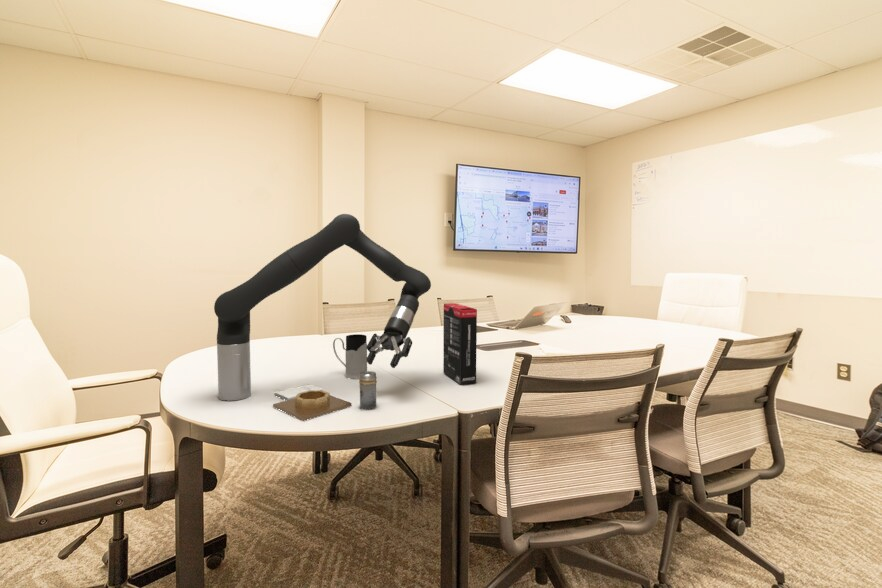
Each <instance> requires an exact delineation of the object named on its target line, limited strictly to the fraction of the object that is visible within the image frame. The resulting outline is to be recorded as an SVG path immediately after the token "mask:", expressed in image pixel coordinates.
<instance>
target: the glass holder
mask: <svg viewBox="0 0 882 588" xmlns="http://www.w3.org/2000/svg"><path fill="white" fill-rule="evenodd" d="M337 340H339V341H341V343H342V344H341V345H342V349H343V350H344V351H345V363H344V361H342V360H341V358H340V356H339V355H338V354H337V350H336V347H335V346H336V344H335V342H336V341H337ZM367 345H368V343H367V335H365V334H362V333H361V334H357V333H356V334H348V335H345V342H344V340H343V339H342V338H341V337H336V338H335V339H334V340H333V342H332V348H333V352H334V354H335V357H336V358H337V359H338V361H339V362H340V363H341V364H342V365H343V366H344V367H345V374H344V376H345V377H346V378H345V377H344V378H345V379H348V378H350V379H351V380H359V377H360V373H362V372H368V362H367V357H368V349H367V348H366V347H367Z"/></svg>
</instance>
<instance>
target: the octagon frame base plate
mask: <svg viewBox="0 0 882 588" xmlns="http://www.w3.org/2000/svg"><path fill="white" fill-rule="evenodd" d="M330 394H331V393H330V392H327V391H325V390H309V391H305V392H301V393H298V394H297V395H296V397H295V398H294V399H290V400H287V401H286V400H283V401H279V402H275V403H272V408H273V407H275V408H274V409H276V408H277V409H276V410H278V409H280V410H282V411H284V412H286V413H285V414H287V413H288V414H287V415H289V414H290V415H289V416H291V415H292V417H293V416H295V417H296V418H295V417H294V418H295V419H298V420H299V421H302V420H303V421H302V422H305V421H304V420H306V421H308V420H307V419H309V420H311V419H310V418H312V419H315V418H318V417H317V416H319V417H321V416H320V415H322V416H324V415H323V414H325V415H327V413H328V414H331V413H334V412H333V411H335V412H337V410H338V411H340V409H341V410H344V409H347V407H348V408H350V406H351V407H352V405H353V404H352V402H350V401H347V400H345V399H342V398H339V397H336V396H333V395H332V394H331V395H330ZM280 410H279V411H280ZM282 411H281V412H282ZM284 412H283V413H284ZM330 412H331V413H330ZM314 417H315V418H314Z"/></svg>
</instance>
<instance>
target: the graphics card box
mask: <svg viewBox="0 0 882 588" xmlns="http://www.w3.org/2000/svg"><path fill="white" fill-rule="evenodd" d="M477 319H478V310H477V308H474V307H470V306H466V305H463V304H460V303H453V302H451V303H450V302H448V303H443V363H442V365H443V374H445V375H446V376H447V377H449V378H450V379H452V380H453V381H454V382H456V383H457V384H459V385H460V386H465V385H471V384H476V383H477V341H478V340H477V336H478V334H477V333H478V332H477V331H478V329H477V328H478V326H477V325H478V323H477V322H478V320H477Z"/></svg>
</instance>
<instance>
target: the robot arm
mask: <svg viewBox="0 0 882 588" xmlns="http://www.w3.org/2000/svg"><path fill="white" fill-rule="evenodd" d="M343 246H347V247H348V248H350V249H352V250H354V251H355V252H357V253H358V254H360V255H361V256H362V257H363V258H365V259H366V260H368V261H369V262H370V263H371V264H372V265H374V267H376V268H377V269H378V270H379V271H381V272H382V273H383V274H385V275H386V276H387V277H389V278H390V279H391V280H392V281H394V282H404V284H403V287H402V288H401V291H400V292H401V293H400V297H399V300H398V302H397V304H396V306H395V308H394V309H393V310H392V312H391V315H390V317H389V318H388V321H387V323H386V325H385V327H384V328H383V333H382V334H381V335H377V333H373V335H372V336H371V338H370V339H369V341H368V343H367V347H366V348H367V352H369V353H368V354H367V365H370V366H371V365H372V364H373V363H374V361H375V358H376V356H377V354H380V352H384V351H394V352H395V353H394V355H393V356H392V359H391V361H390V364H389V365H390V368H393V369H395V368H396V367H397V366H398V364H399V362H400V360H401V359H402V358H407V357H408V356H409V353H410V351H411V348H412V346H413V340H412V339H411V337H410V336H408V333H409V332H410V330H411V327H412V325H413V322H414V319H415V316H416V314H417V312H418V309H419V307H420V302H419V298H420V297H421V296H422V295H425V294H426V293H428V292H429V291H430V289H431V287H432V284H431V280H430V278H429V276H428V275H426V273H424V272H422V271H421V270H419V269H416V268H414V267H413V266H409V265H408V264H406V263H405V262H404V261H402V260H401V259H400V258H398V257H397V256H396V255H395V254H394V253H392V252H391V251H389V250H387V249H386V248H384V247H383V246H381V245H379V244H378V243H377V242H375V241H374V240H372V239H371V238H370V237H368V236H367V235H366V234H365V233H364V232H363V230H362V229H361V224H360V222H359V220H358V218H356V217H355V216H354V215H352V214H348V213H341V214H339V215H337V216H336V217H334V219H332V221H331V222H329V223H328V224H327V225H326V226H324V227H323V228H322V229H321V230H320V231H318V232H316V233H315V234H314V235H312V236H310V237H309V238H307V239H304V240H302V241H301V242H299V243H297V244H295V245H293V246H292V247H290V248H288V249H287V250H285V251H283V252H282V253H281V254H279V255H278V256H276V257H274V258H273V259H272V260H271V261H269V262H268V263H267V264H266V265H265V266H263V268H261V269H260V270H259V271H258V272H257V273H255V274H254V275H253V276H252V277H250V278H249V279H248V280H246V281H245V282H243V283H241V284H240V285H237V286H236V287H233V288H232V289H230V290H227V291H225V292H223V293H221V294H220V295H219V296H218V297H217V298H216V300H215V302H214V306H213V308H214V309H213V310H214V313H215V315H216V317H217V331H216V332H217V334H216V350H217V351H216V352H217V353H216V354H217V355H216V356H217V387H218V390H217V391H218V399H219V400H221V401H225V400H227V401H239V400H240V401H241V400H244V399H246V398H249V397H251V395H252V386H251V385H252V384H251V383H252V379H251V378H252V377H251V375H252V373H251V343H250V342H251V339H250V338H251V311H252V309H254V308H255V307H256V306H258V305H259V303H261V302H262V301H264V300H265V299H266V298H268V297H270V296H271V295H274V294H275V293H277V292H279V291H281V290H282V289H284V288H286V287H288V286H289V285H291V284H293V283H294V282H296V281H297V280H299V279H300V278H302V277H303V276H304V275H306V274H307V273H308V272H310V271H311V270H312V269H313V268H314V267H316V266H317V265H319V263H320V262H322V261H323V259H325V258H326V257H327V256H328V255H329V254H331V253H333V252H334V251H336V250H337V249H339V248H341V247H343ZM407 336H408V337H407ZM402 345H403V347H402V349H401V346H402Z"/></svg>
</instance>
